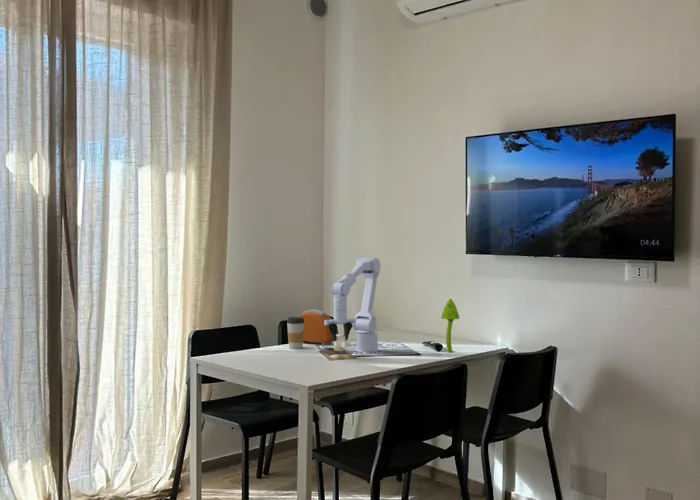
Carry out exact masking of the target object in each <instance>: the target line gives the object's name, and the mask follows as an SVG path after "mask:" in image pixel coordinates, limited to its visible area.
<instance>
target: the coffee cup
mask: <svg viewBox="0 0 700 500" xmlns="http://www.w3.org/2000/svg"><path fill="white" fill-rule="evenodd" d="M286 325H287V340H288V348H289V349H290V350H301V349H303V346H304V345H303V343H304V341H303V334H304V319H303V317H298V316H289V317H287V320H286Z"/></svg>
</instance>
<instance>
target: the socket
mask: <svg viewBox="0 0 700 500" xmlns="http://www.w3.org/2000/svg"><path fill="white" fill-rule="evenodd" d="M323 350H324V352H325V353H326V354H328V355H335V354H346V351H347V350H346V349H345V350H344V351H336V350H334V347H324V348H323Z"/></svg>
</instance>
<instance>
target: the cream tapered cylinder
mask: <svg viewBox="0 0 700 500" xmlns="http://www.w3.org/2000/svg"><path fill="white" fill-rule="evenodd" d="M345 338H346V336H345V335H344V334H339V333H338V334H336V341H334V342H333V348H334V350H336V351H344V350H346V349H348V345H349V344H348V341H347V340H345Z"/></svg>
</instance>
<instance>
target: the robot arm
mask: <svg viewBox="0 0 700 500" xmlns="http://www.w3.org/2000/svg"><path fill="white" fill-rule="evenodd" d="M355 261H356V262H355V265H354V267H353V268H352V269H351V271H350V272H345V274H344V275H343V277H341V278H340V280H338V281H337V282H334V283H333V284H332V286H331V288H330V293H331V296H332V298H333V299H332V300H333V319H331V320H324V324H325V325H328V327H329V329H330V331H331V334H332V338H333V341H336V332H337V330H338V325H343V335H345V336H346V338H345V341H348V339H349V335H350V332H351V330H352V328H353V329H354V331H355V333H356V348H355V349H354V351H356V352H357V353H368V352H373V353H374V352H379V351H378V348H379V347H378V346H379V345H378V343H379V342H378V341H379V339H378V338H379V337H378V334H377V332H376V328H377V316H376V315H375V314H374V313H373V312H372V311H373V307H374V301H375V294H376V288H377V284H378V283H377V282H378V277H379V276H380V271H381V261H380V259H379V258H378V257H363V256H360V257H358V259H357V260H355ZM360 275H363V276H364V277H365V283H364V284H365V285H364V289H363V296H362V299H361V300H362V301H361V307H360V310H359V311H358V312H357V313H356V314H355V317H353V318H348V317H347V316H348V314H347V313H348V312H347V311H348V308H347V305H348V303H347V302H348V297H347V296H348V295H349V294H350V290H351V287H353V285H354V284H355V283H357V278H358V277H359V276H360ZM335 324H336V325H335Z"/></svg>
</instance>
